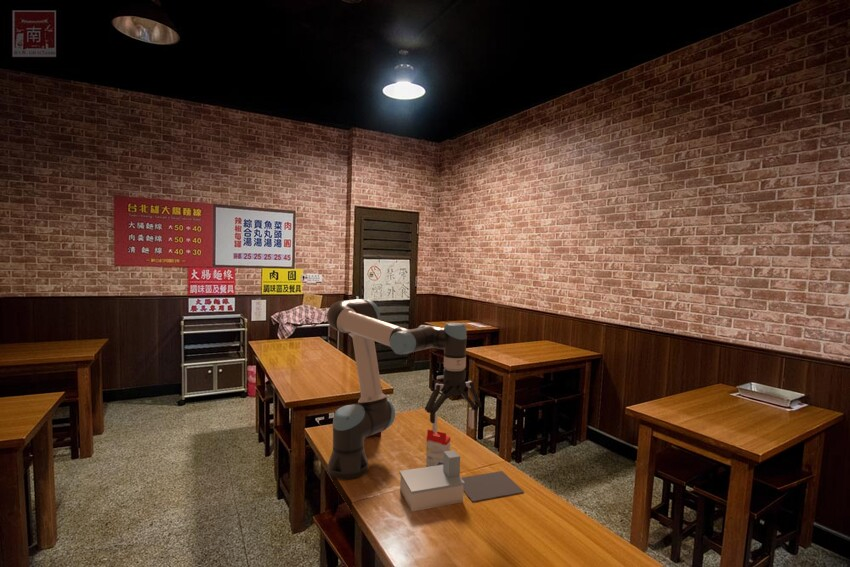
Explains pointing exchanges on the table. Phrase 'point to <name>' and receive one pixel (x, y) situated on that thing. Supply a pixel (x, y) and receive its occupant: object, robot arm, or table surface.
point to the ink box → (436, 448)
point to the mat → (489, 486)
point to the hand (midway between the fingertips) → (453, 429)
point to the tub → (431, 497)
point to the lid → (435, 475)
